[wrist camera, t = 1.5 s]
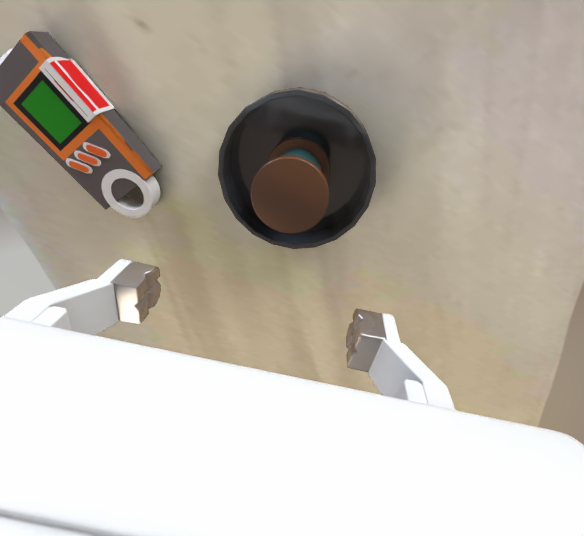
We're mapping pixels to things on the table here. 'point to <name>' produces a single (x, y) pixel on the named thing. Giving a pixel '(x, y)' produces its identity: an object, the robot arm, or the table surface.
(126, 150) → the electronic device
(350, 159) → the pan
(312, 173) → the spool
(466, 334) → the table surface
